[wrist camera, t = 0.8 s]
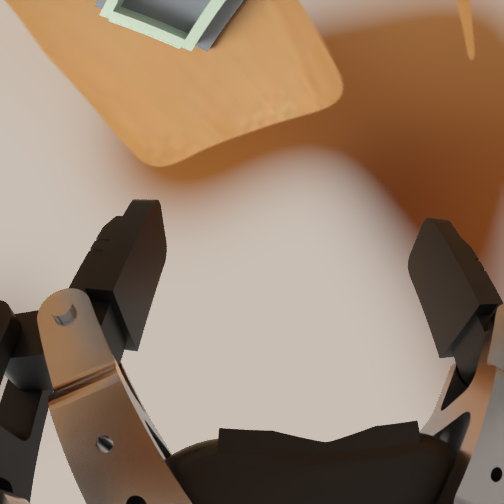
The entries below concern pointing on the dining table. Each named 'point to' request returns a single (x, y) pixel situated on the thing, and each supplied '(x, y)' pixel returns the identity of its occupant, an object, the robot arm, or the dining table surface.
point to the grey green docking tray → (172, 19)
